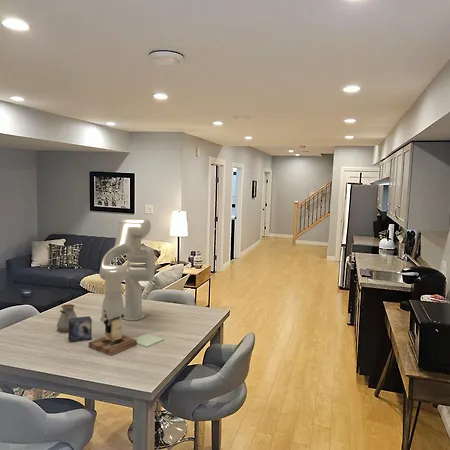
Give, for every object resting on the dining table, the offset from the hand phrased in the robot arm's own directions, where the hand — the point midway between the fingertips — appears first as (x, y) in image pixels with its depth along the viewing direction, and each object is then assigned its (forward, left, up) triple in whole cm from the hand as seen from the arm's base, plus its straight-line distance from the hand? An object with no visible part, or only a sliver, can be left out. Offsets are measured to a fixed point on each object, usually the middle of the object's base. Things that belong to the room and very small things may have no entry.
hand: (113, 330), depth 200 cm
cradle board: (0, 0, -8) cm, 8 cm away
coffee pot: (-33, -3, -8) cm, 34 cm away
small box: (-20, -4, -8) cm, 22 cm away
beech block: (0, 0, -4) cm, 4 cm away
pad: (+8, +15, -8) cm, 18 cm away
